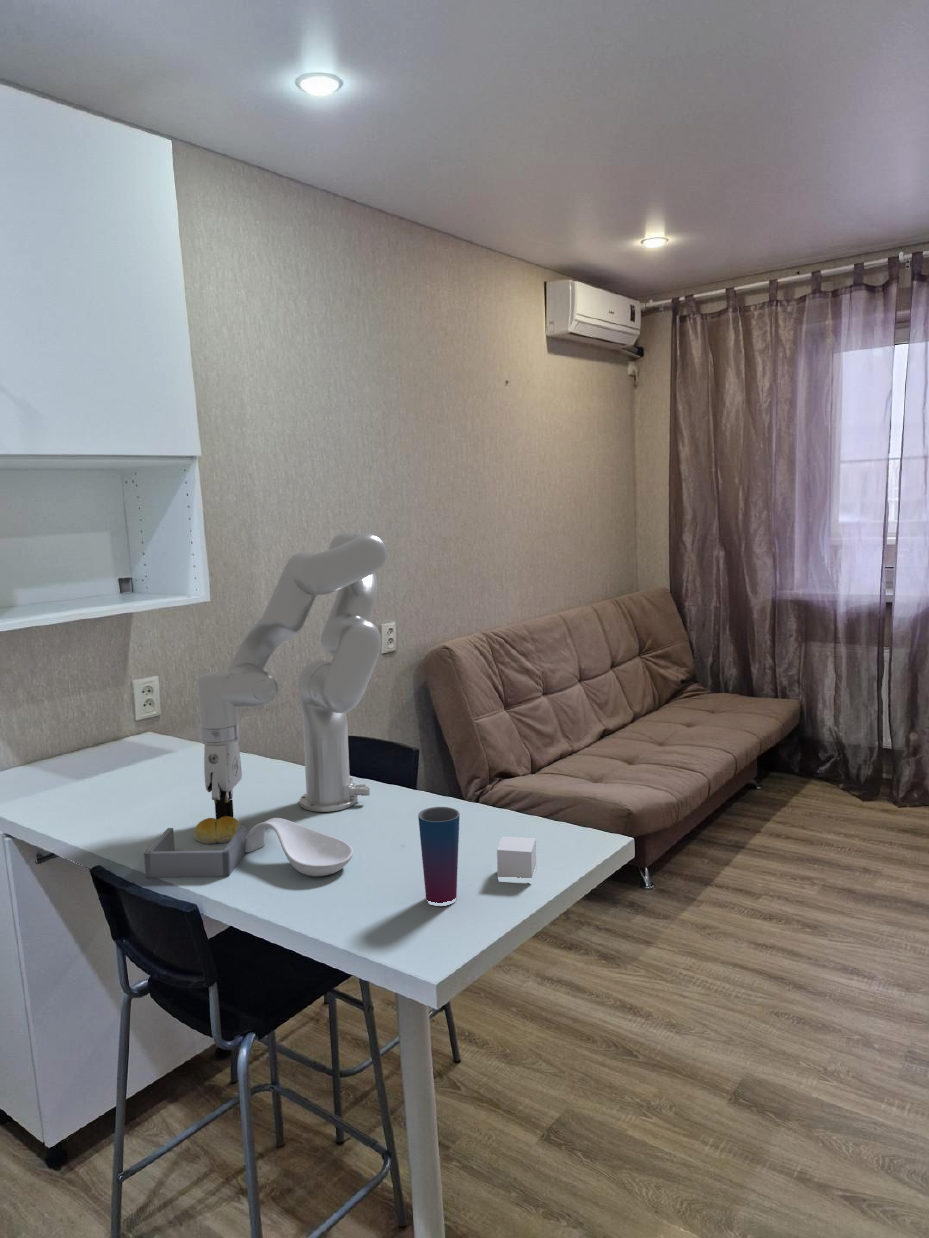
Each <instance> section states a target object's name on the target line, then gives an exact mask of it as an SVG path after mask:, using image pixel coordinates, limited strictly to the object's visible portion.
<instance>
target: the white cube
mask: <svg viewBox="0 0 929 1238" xmlns="http://www.w3.org/2000/svg"><path fill="white" fill-rule="evenodd" d="M496 851H497V852H496V860H497V861H496V864H497V865H496V866H497V878H498V877H517V878H520V877H521V878H532V876H533V872H534V869H535V866H536V867H537V838H536V837H534V838H533V837H517V836H502V837H501V839H500V842H499V844H498V847H497V849H496Z"/></svg>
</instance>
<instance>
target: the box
mask: <svg viewBox="0 0 929 1238" xmlns="http://www.w3.org/2000/svg"><path fill="white" fill-rule="evenodd" d="M246 827H247V826H241V827H240V828H239V830H238V831H237V832H236V834H235V835H234V837H233V838H232V839H231V841H230V842H228V843H227V845H226V847H225V848H224V849H223V850H219V849H218V850H175V833H174V828H173V827H167V829H166V830H164V832H162V833H161V835H160V836H159V837H158V838H156V839H157V840H155V841H154V842H153V843H152V844H151V845H150V847H149V848H148V849H147V850H146V851H145V852H144V853H143V856H144V865H145V866H144V867H145V869H144V870H145V878H201V877H202V878H204V877H205V878H208V877H209V878H215V877H216V878H217V877H218V878H219V877H223V878H224V877H230V876H231V875H232V873H233V872H234V870H235V868H236V866H237V865H238V864H239V862H240V861H241V859H242V858H243V856H244V854H246V852H245V842H246V839H247V830H246V829H247V828H246Z"/></svg>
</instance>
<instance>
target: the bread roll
mask: <svg viewBox="0 0 929 1238" xmlns="http://www.w3.org/2000/svg"><path fill="white" fill-rule="evenodd" d="M240 827H242V823H241V822H240V821H239V820H238V819H237V818H235V817H234V816H233V817H230V816H224V817H221V818H220V819H216V817H215V818H214V817H208V818H205V819H203V820H201V821H199V822H198V823H197V825H196V826H195V828H194V830H193V834H194V839H195V840H196V841H197V842H200V843H202V844H205V845H212V844H213V845H215V844H217V843H219V844H225V843H226V844H227V843H229V842H230V841H231V839H232V838H233V837H234V835H235V834H236V832H237V831H238V830H239V828H240Z"/></svg>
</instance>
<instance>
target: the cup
mask: <svg viewBox="0 0 929 1238" xmlns="http://www.w3.org/2000/svg"><path fill="white" fill-rule="evenodd" d="M417 817H418V828H419V839H420V848H421V859H422V860H421V861H422V868H423V869H422V870H423V881H424V890H425V891H424V892H425V900H426V899H427V900H428V901H431V902H435V903H436V902H437V903H443V902H447V901H452V900H453V899H455V898H456V899H457V891H458V890H457V889H458V888H457V887H458V866H459V865H458V864H459V863H458V862H459V842H460V841H459V839H460V811H459V810H457V809H455V808H454V807H453V808H452V807H447V806H433V807H428V808H424V809H422V810H421V811H419V812H418V815H417Z"/></svg>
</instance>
